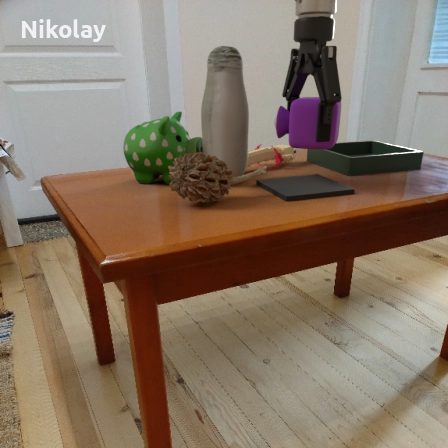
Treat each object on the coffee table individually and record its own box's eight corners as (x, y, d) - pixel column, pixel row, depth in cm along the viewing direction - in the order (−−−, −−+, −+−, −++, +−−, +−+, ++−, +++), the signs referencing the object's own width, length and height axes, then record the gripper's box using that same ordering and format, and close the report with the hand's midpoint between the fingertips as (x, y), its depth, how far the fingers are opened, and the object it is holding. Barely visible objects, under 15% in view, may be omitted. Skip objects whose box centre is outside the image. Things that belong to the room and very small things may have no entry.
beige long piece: (239, 183, 108) (306, 161, 121) (237, 146, 103) (306, 127, 116) (213, 177, 114) (279, 156, 128) (210, 142, 110) (279, 124, 123)
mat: (354, 193, 93) (355, 189, 92) (286, 201, 88) (286, 196, 88) (317, 178, 106) (317, 173, 106) (255, 184, 102) (256, 179, 101)
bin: (420, 168, 114) (423, 151, 112) (348, 175, 108) (350, 157, 106) (370, 155, 132) (372, 140, 130) (306, 160, 126) (307, 145, 124)
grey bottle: (233, 189, 97) (232, 44, 84) (196, 184, 102) (189, 46, 89) (255, 180, 105) (257, 45, 92) (219, 176, 110) (216, 47, 97)
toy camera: (274, 142, 99) (276, 94, 95) (336, 143, 97) (341, 93, 93) (272, 150, 90) (273, 97, 85) (340, 151, 88) (346, 96, 83)
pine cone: (181, 214, 82) (178, 159, 77) (161, 202, 89) (157, 151, 84) (277, 197, 91) (279, 147, 87) (252, 188, 99) (253, 141, 94)
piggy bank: (194, 188, 99) (191, 116, 92) (118, 186, 102) (109, 117, 95) (207, 174, 112) (204, 110, 105) (138, 173, 114) (132, 111, 107)
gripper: (269, 23, 92) (266, 131, 102) (331, 9, 71) (320, 147, 81) (301, 23, 94) (295, 129, 104) (371, 10, 73) (355, 144, 83)
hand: (306, 137), depth 92 cm, fingers closed on toy camera, 13 cm apart
